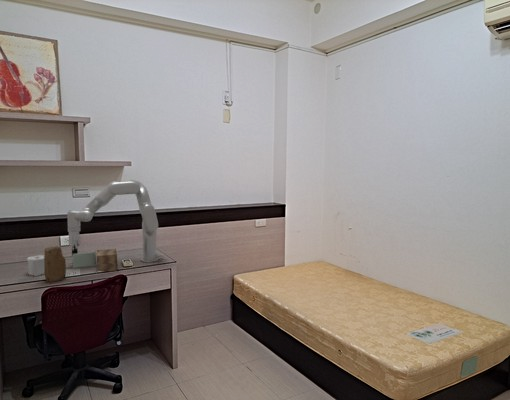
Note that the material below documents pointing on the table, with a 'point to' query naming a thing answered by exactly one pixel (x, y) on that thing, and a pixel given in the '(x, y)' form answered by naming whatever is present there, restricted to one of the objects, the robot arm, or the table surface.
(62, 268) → the block
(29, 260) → the toilet tissue
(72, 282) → the table surface
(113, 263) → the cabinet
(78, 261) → the green rectangular block
